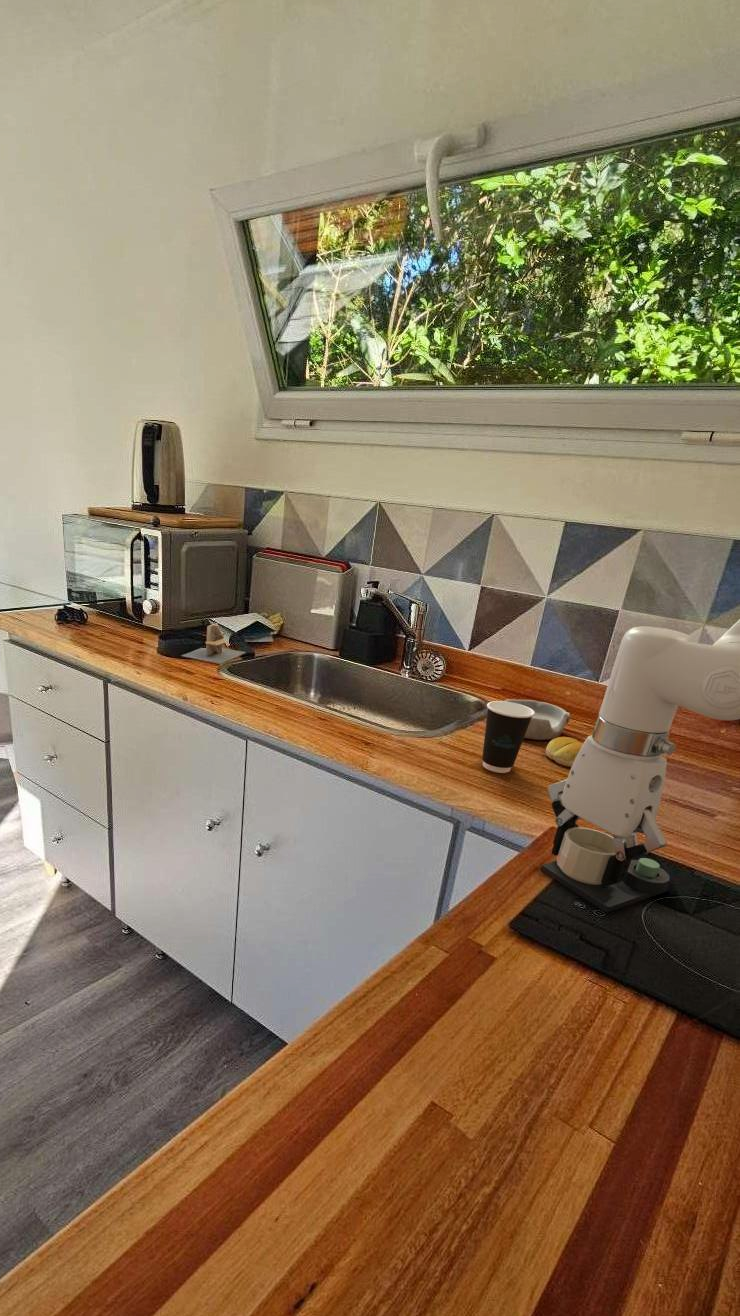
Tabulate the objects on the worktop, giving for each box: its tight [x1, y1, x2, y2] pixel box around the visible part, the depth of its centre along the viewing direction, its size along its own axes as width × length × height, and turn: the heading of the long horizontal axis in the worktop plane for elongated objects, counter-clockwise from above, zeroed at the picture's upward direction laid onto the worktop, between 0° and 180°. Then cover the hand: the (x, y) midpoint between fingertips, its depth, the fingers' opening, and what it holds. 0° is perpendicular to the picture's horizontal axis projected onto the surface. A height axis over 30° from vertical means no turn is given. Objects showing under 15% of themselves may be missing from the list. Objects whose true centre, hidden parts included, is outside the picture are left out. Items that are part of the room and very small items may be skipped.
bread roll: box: [545, 736, 584, 768], centre depth 124 cm, size 8×9×4 cm
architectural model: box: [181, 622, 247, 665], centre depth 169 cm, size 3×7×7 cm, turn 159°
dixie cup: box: [481, 700, 535, 774], centre depth 115 cm, size 8×8×11 cm
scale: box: [539, 859, 671, 914], centre depth 84 cm, size 12×11×2 cm
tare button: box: [636, 857, 661, 878], centre depth 83 cm, size 2×2×2 cm
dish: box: [504, 699, 571, 741], centre depth 137 cm, size 14×14×5 cm
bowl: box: [556, 826, 615, 885], centre depth 84 cm, size 7×7×5 cm
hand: (585, 866), depth 84 cm, fingers closed on bowl, 6 cm apart
